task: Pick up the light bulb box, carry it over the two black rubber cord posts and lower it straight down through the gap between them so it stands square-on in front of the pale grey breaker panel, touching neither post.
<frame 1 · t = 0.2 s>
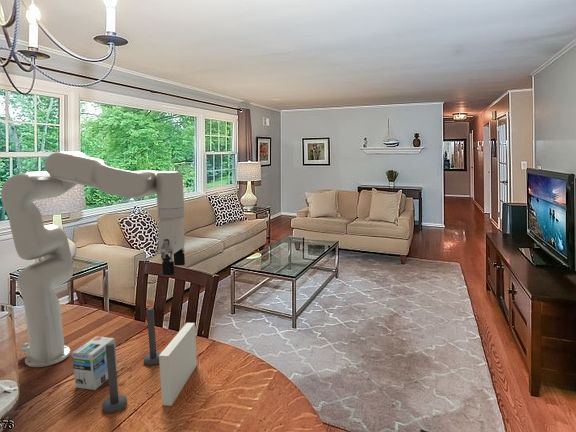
hand: (174, 269, 119), 31 cm above the table, tool pointing down, fingers open, 9 cm apart
breaker panel: (180, 383, 114), on the table
cord post 2: (153, 360, 127), on the table
light bulb box: (97, 379, 117), on the table
cord post 1: (114, 406, 104), on the table
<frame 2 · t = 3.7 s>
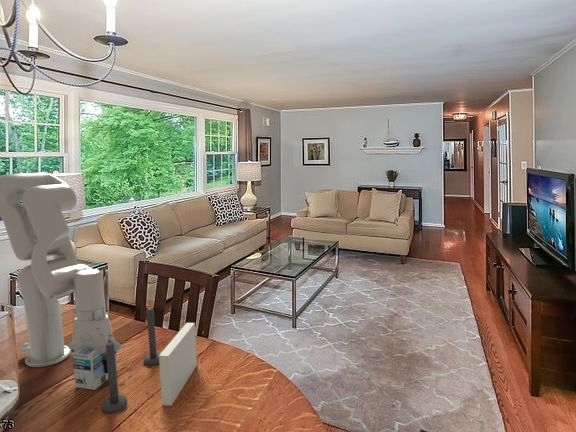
hand: (96, 369, 116), 3 cm above the table, tool pointing down, fingers closed on light bulb box, 7 cm apart
light bulb box: (97, 379, 117), on the table, touching gripper
everything else where it was.
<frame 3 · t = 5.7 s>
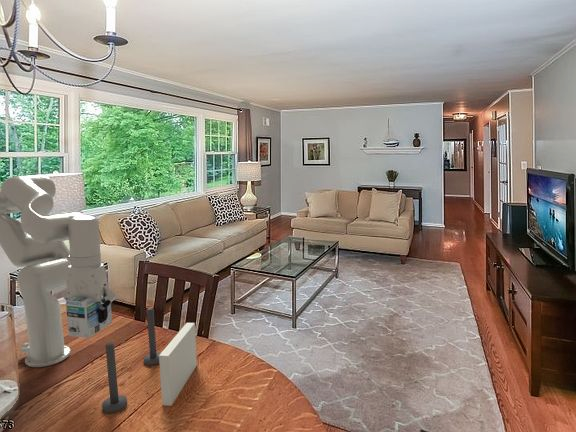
hand: (90, 319, 114), 18 cm above the table, tool pointing down, fingers closed on light bulb box, 7 cm apart
light bulb box: (91, 329, 114), point 15 cm above the table, touching gripper
everything else where it was.
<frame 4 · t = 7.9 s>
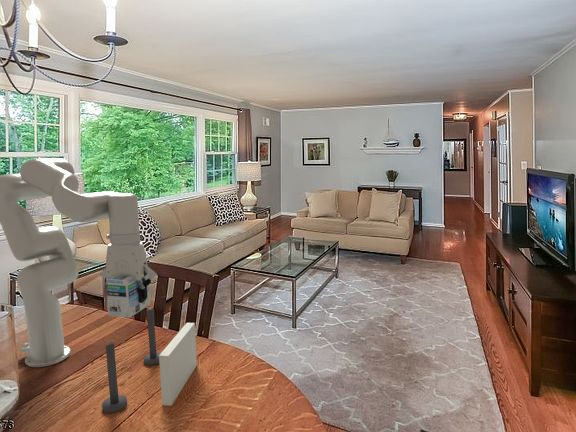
hand: (130, 300, 111), 25 cm above the table, tool pointing down, fingers closed on light bulb box, 7 cm apart
light bulb box: (130, 310, 112), point 22 cm above the table, touching gripper
everything else where it was.
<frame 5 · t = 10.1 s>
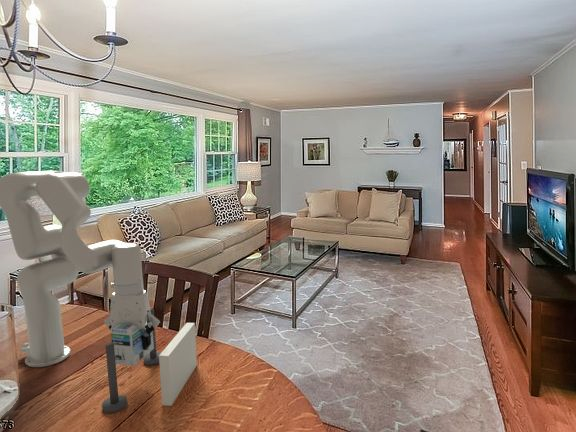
hand: (133, 346, 113), 11 cm above the table, tool pointing down, fingers closed on light bulb box, 7 cm apart
light bulb box: (134, 356, 114), point 8 cm above the table, touching gripper
everything else where it was.
when the fingers open (4 cm above the table, at t = 12.1 s): light bulb box drops 1 cm, on the table.
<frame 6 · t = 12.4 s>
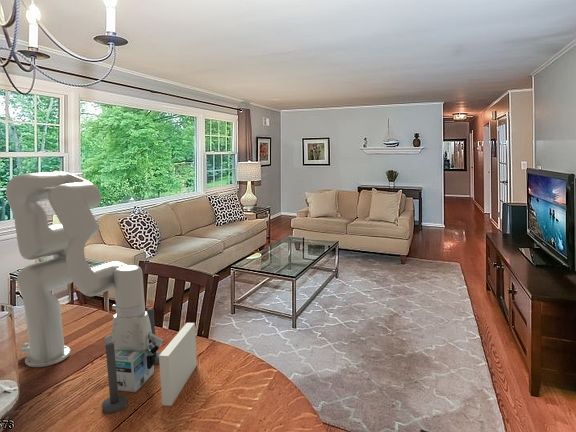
hand: (135, 365, 114), 5 cm above the table, tool pointing down, fingers open, 9 cm apart
light bulb box: (135, 381, 115), on the table
everything else where it was.
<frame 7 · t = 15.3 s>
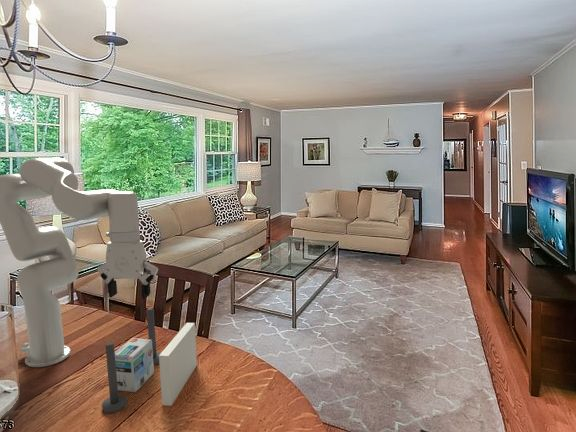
hand: (129, 296, 111), 26 cm above the table, tool pointing down, fingers open, 9 cm apart
nothing on the table moved.
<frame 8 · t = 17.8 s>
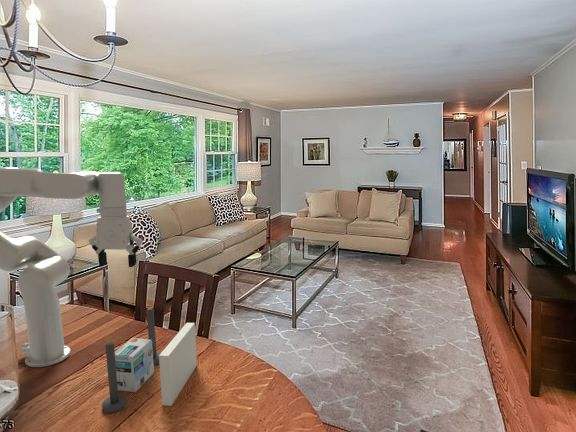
hand: (117, 265, 125), 30 cm above the table, tool pointing down, fingers open, 9 cm apart
nothing on the table moved.
at the end: light bulb box inside the target area (0.3 cm from its centre), on the table; cord post 1 moved 0.0 cm from its start; cord post 2 moved 0.0 cm from its start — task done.
